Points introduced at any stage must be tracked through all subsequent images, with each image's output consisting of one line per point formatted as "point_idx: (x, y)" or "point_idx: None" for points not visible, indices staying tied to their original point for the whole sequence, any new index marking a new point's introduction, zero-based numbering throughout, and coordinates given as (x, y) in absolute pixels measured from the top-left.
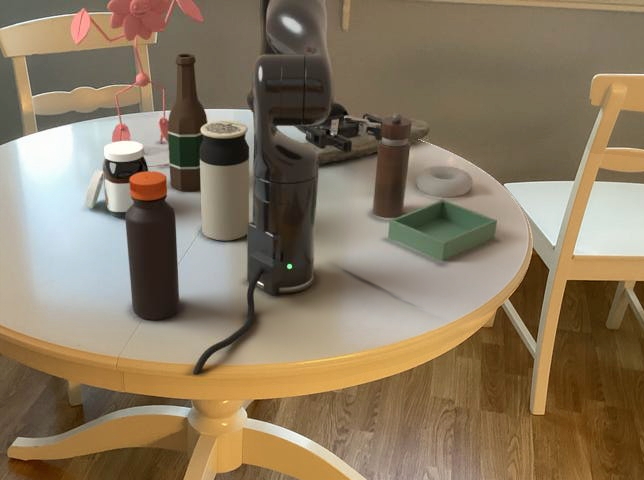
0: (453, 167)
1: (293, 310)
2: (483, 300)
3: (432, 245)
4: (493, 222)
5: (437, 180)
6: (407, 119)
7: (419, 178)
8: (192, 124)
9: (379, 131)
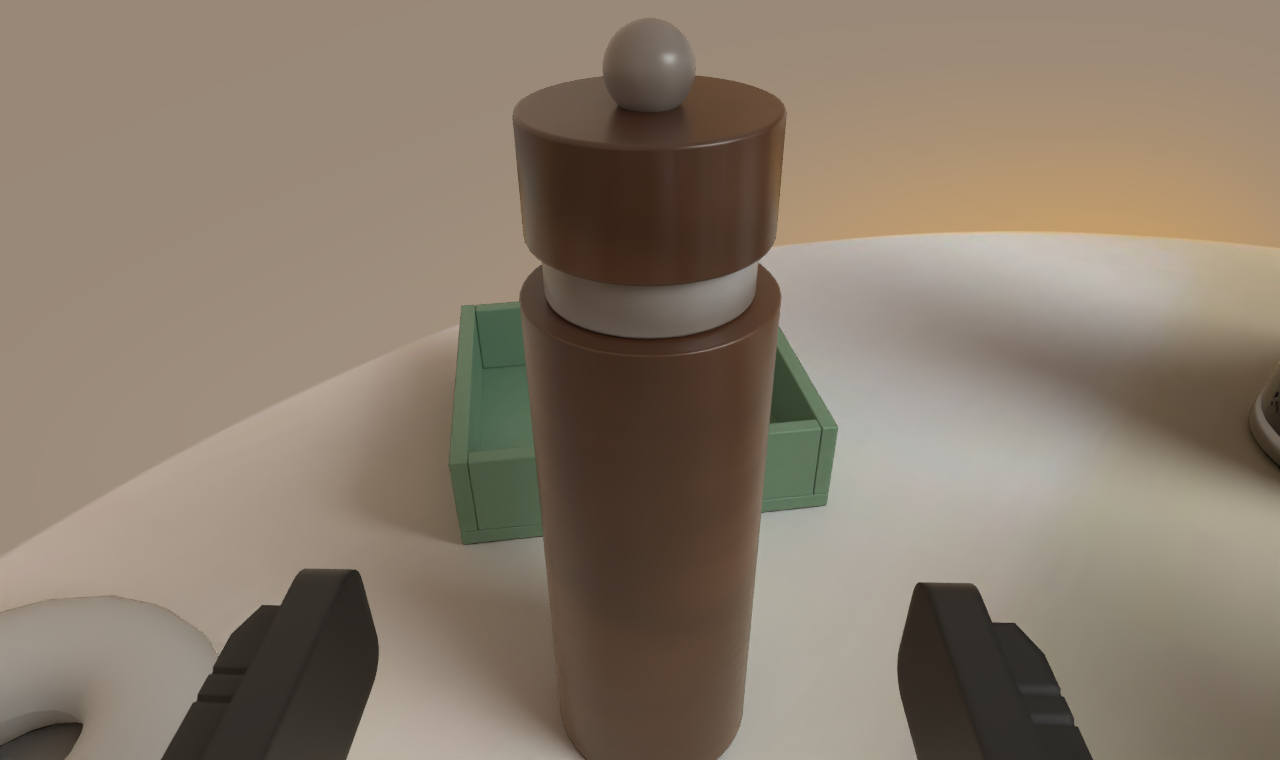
0: None
1: None
2: (771, 250)
3: None
4: (484, 305)
5: (162, 666)
6: (533, 102)
7: None
8: None
9: (289, 753)
